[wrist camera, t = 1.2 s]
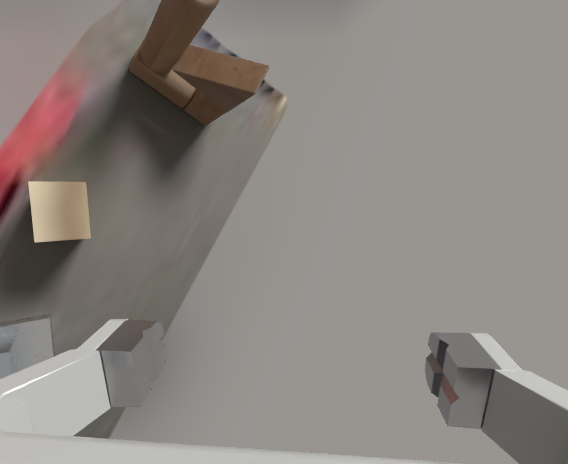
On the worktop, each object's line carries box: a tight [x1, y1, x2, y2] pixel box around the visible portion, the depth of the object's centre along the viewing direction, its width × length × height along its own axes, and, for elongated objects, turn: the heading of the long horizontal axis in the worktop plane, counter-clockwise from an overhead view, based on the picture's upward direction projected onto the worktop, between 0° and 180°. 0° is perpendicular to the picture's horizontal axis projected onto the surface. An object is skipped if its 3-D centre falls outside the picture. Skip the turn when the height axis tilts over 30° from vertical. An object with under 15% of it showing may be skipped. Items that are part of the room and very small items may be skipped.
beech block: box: [28, 182, 91, 242], centre depth 31 cm, size 4×5×9 cm
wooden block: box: [129, 0, 269, 125], centre depth 33 cm, size 4×11×18 cm, turn 61°
